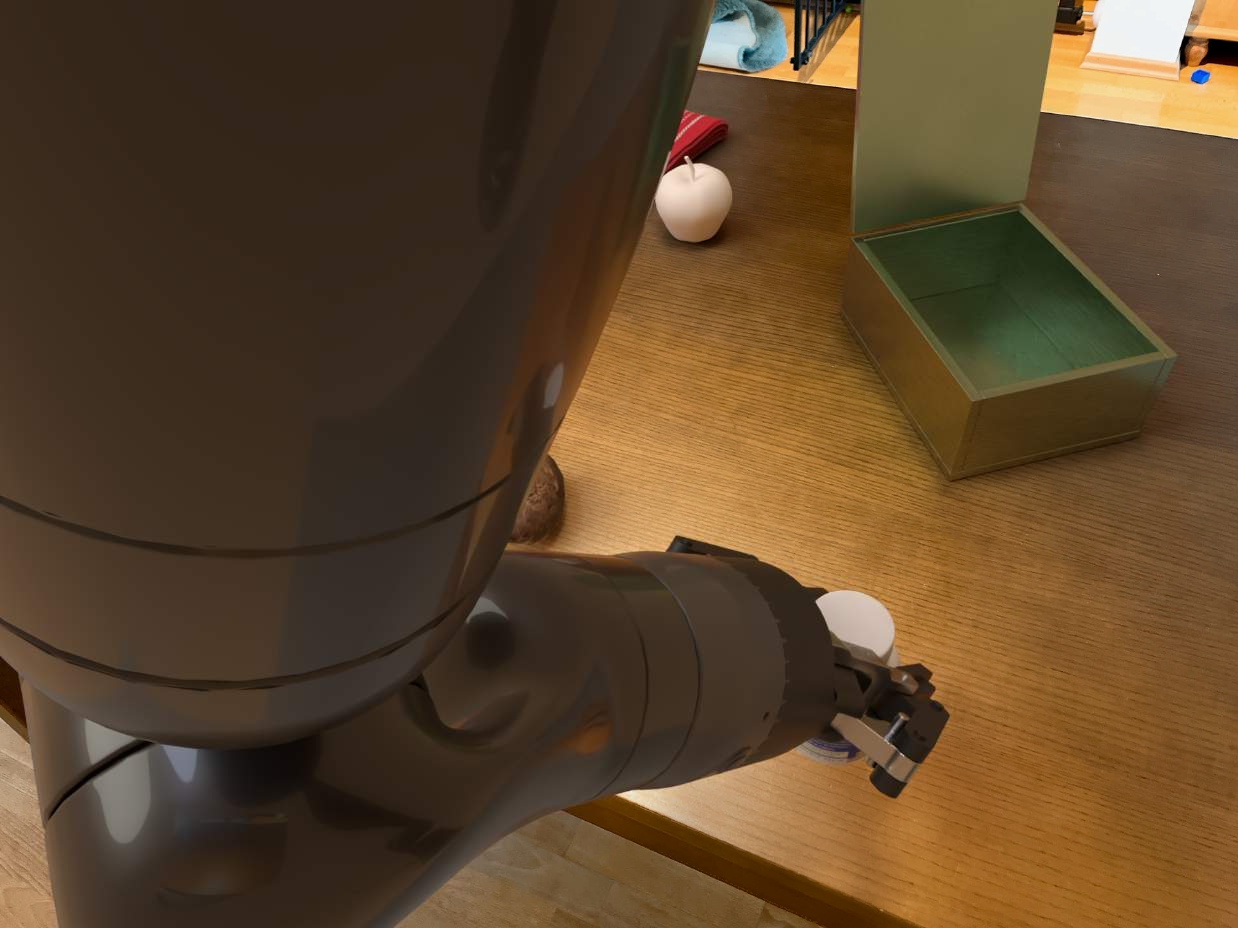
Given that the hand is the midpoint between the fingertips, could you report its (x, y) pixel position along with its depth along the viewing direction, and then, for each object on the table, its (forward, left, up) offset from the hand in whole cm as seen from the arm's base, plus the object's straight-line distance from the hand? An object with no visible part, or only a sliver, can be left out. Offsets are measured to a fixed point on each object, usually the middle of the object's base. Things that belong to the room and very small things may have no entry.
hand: (865, 645), depth 45 cm
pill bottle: (0, +2, -5) cm, 6 cm away
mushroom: (+26, +4, -10) cm, 28 cm away
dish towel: (+63, -34, -10) cm, 73 cm away
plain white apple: (+43, -29, -10) cm, 53 cm away
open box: (+13, -31, -10) cm, 35 cm away
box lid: (+23, -36, +8) cm, 44 cm away
